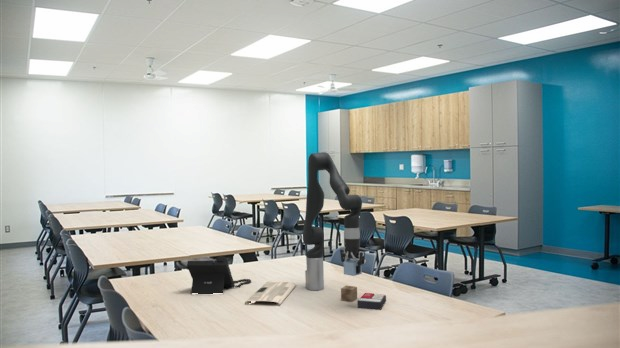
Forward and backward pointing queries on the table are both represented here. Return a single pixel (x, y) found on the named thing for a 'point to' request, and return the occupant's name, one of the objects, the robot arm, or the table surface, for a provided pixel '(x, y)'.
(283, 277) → the table surface
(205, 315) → the table surface
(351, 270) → the slate block
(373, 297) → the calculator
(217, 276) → the office phone
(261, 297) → the newspaper
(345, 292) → the walnut block
